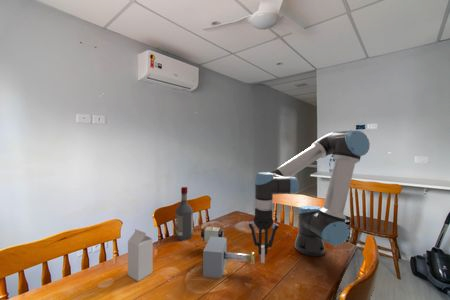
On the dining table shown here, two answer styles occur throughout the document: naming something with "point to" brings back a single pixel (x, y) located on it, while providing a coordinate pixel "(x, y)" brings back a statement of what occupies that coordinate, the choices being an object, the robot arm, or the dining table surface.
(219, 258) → the block
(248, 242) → the dining table surface
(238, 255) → the pin
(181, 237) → the liquor
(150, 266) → the milk carton
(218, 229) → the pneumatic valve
